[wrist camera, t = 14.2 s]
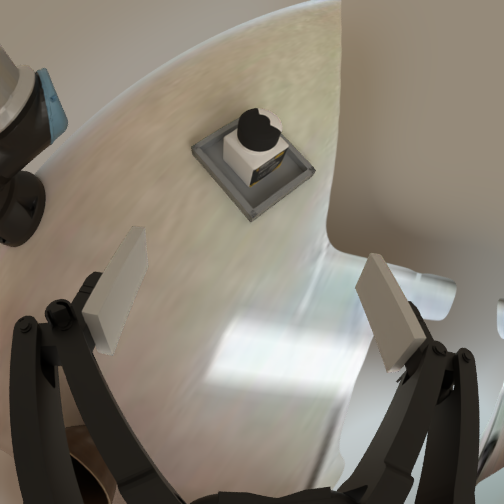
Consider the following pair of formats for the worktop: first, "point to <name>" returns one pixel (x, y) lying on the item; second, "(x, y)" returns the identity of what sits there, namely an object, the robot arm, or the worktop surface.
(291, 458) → the worktop surface
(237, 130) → the medicine bottle
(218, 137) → the tray
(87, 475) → the plant pot
